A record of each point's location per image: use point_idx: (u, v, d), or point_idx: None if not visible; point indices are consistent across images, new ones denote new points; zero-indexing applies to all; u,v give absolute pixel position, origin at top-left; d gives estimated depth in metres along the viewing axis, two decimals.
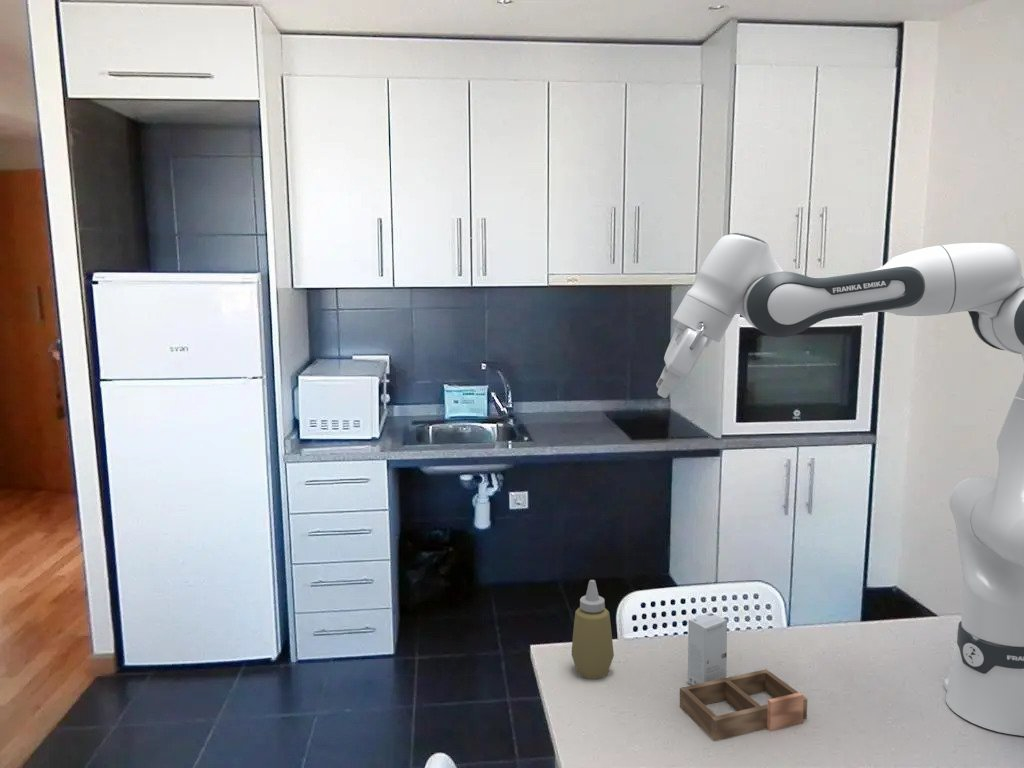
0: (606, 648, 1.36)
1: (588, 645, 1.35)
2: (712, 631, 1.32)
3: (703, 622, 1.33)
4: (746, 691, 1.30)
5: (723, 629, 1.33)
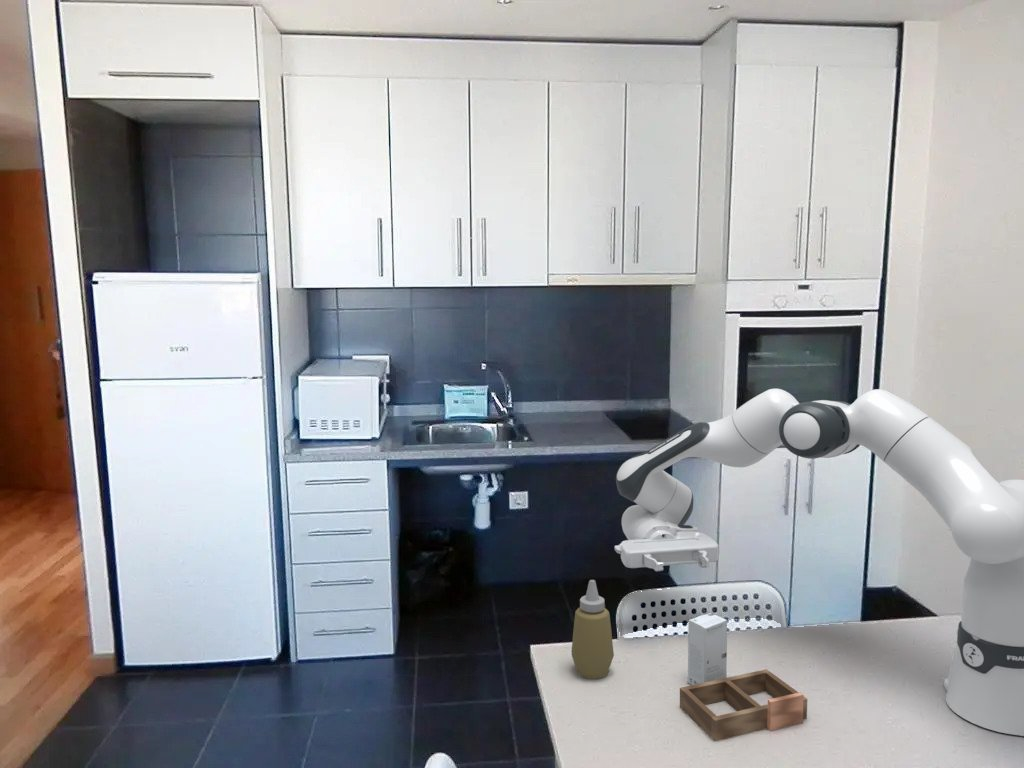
0: (606, 648, 1.36)
1: (588, 645, 1.35)
2: (713, 631, 1.32)
3: (703, 622, 1.33)
4: (746, 691, 1.30)
5: (723, 629, 1.33)
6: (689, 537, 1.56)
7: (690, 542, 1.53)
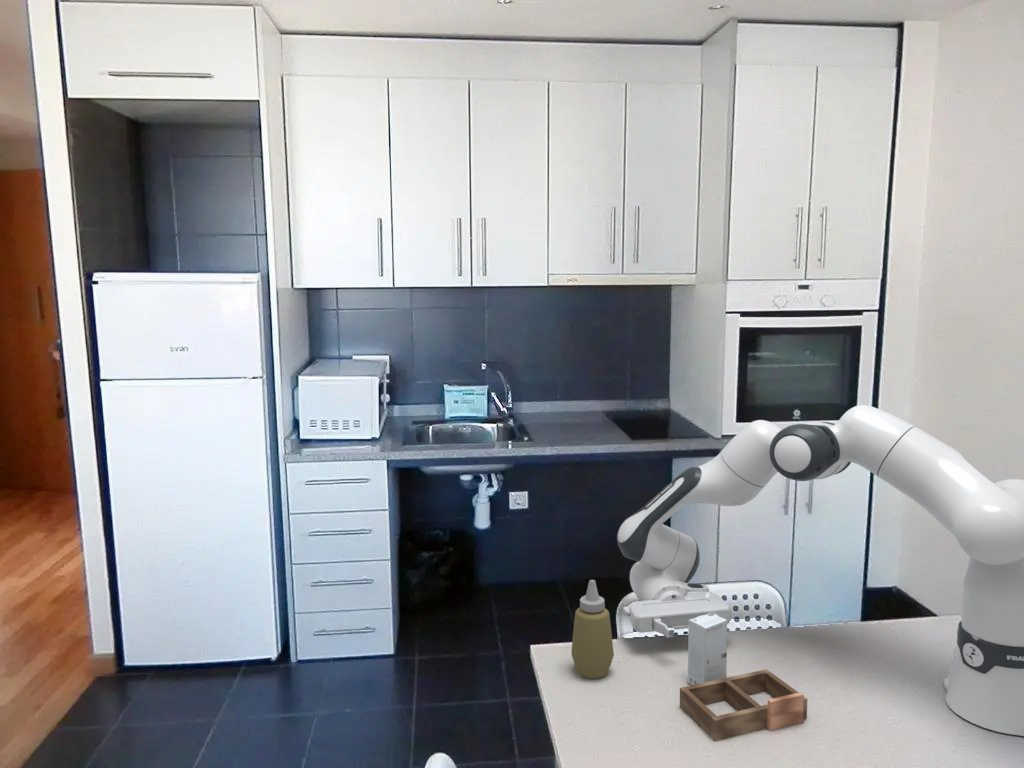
0: (606, 648, 1.36)
1: (588, 645, 1.35)
2: (713, 631, 1.32)
3: (703, 622, 1.33)
4: (746, 691, 1.30)
5: (723, 629, 1.33)
6: (699, 597, 1.52)
7: (701, 603, 1.49)
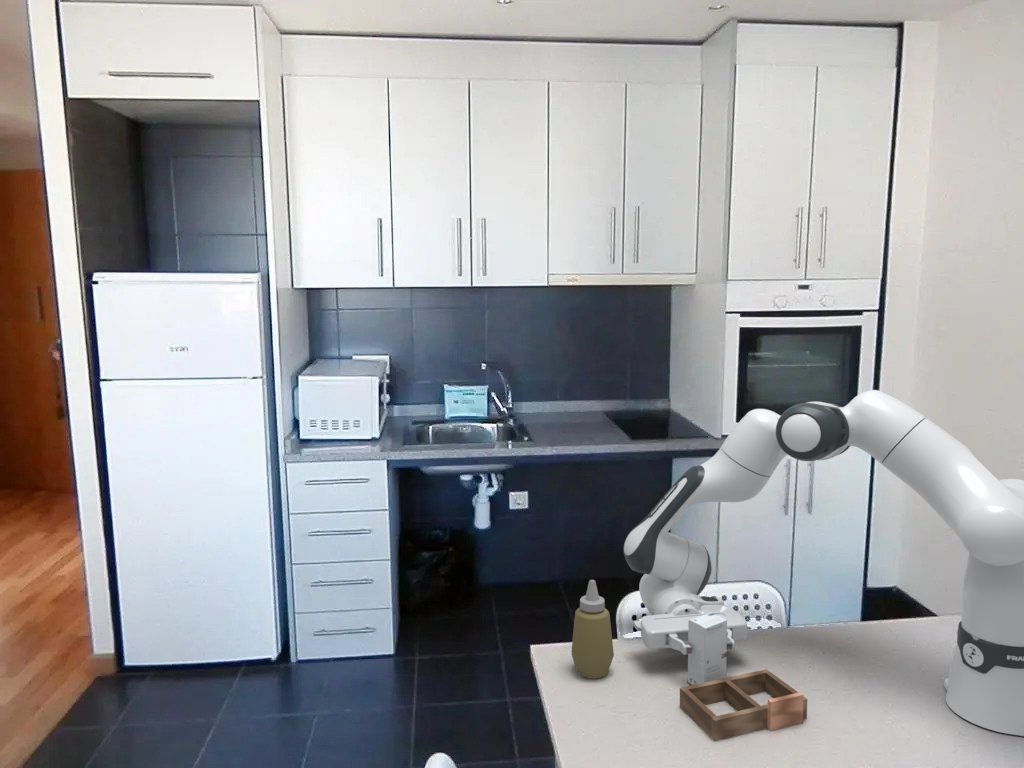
0: (606, 648, 1.36)
1: (588, 645, 1.35)
2: (713, 631, 1.32)
3: (703, 622, 1.33)
4: (746, 691, 1.30)
5: (723, 629, 1.33)
6: (714, 611, 1.44)
7: None
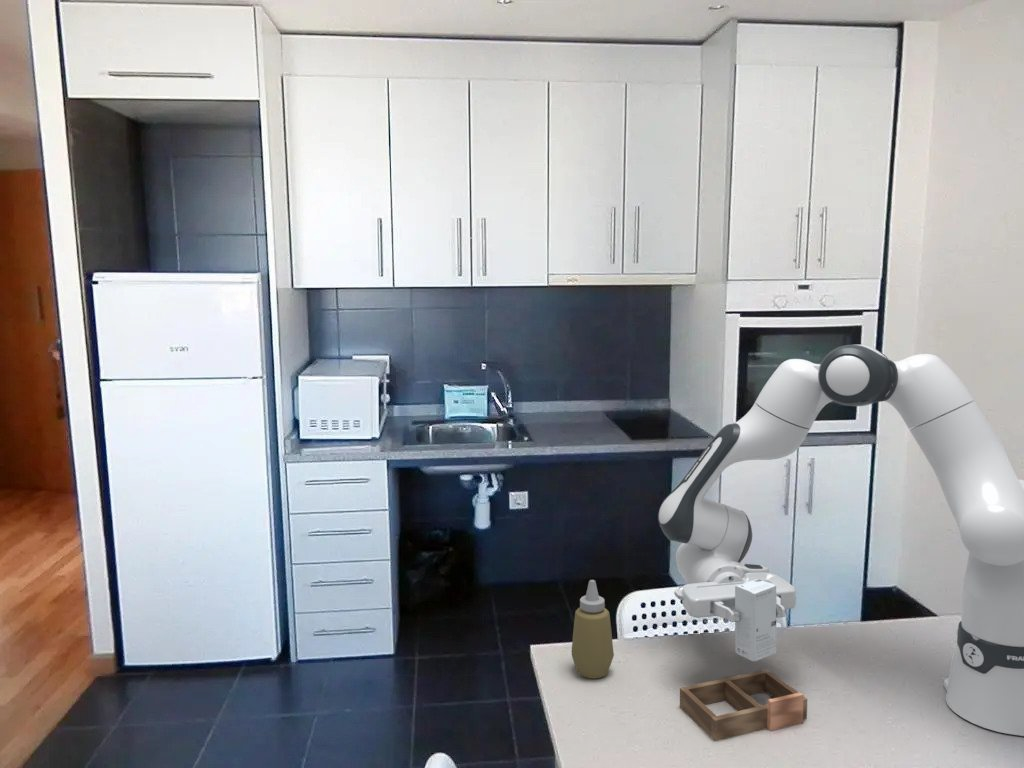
0: (606, 648, 1.36)
1: (588, 645, 1.35)
2: (762, 597, 1.24)
3: (751, 587, 1.25)
4: (746, 691, 1.30)
5: (772, 595, 1.25)
6: (759, 579, 1.36)
7: None
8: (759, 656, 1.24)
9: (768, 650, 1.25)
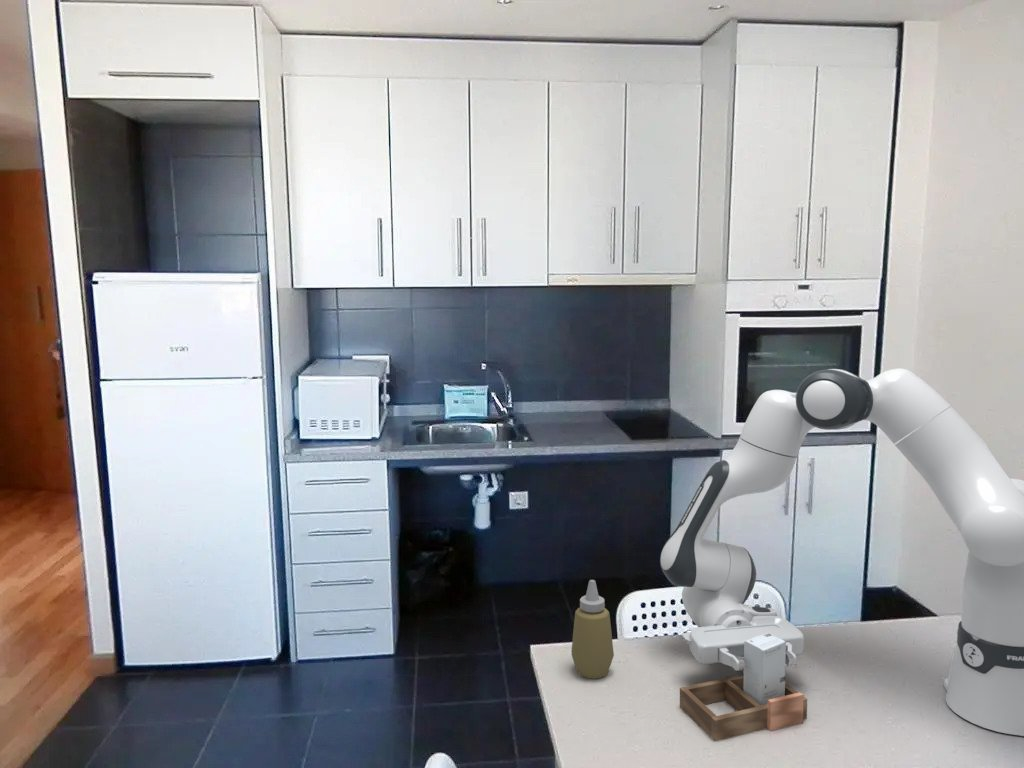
0: (606, 648, 1.36)
1: (588, 645, 1.35)
2: (771, 654, 1.23)
3: (760, 643, 1.24)
4: None
5: (782, 651, 1.25)
6: (767, 623, 1.35)
7: (770, 630, 1.33)
8: None
9: None
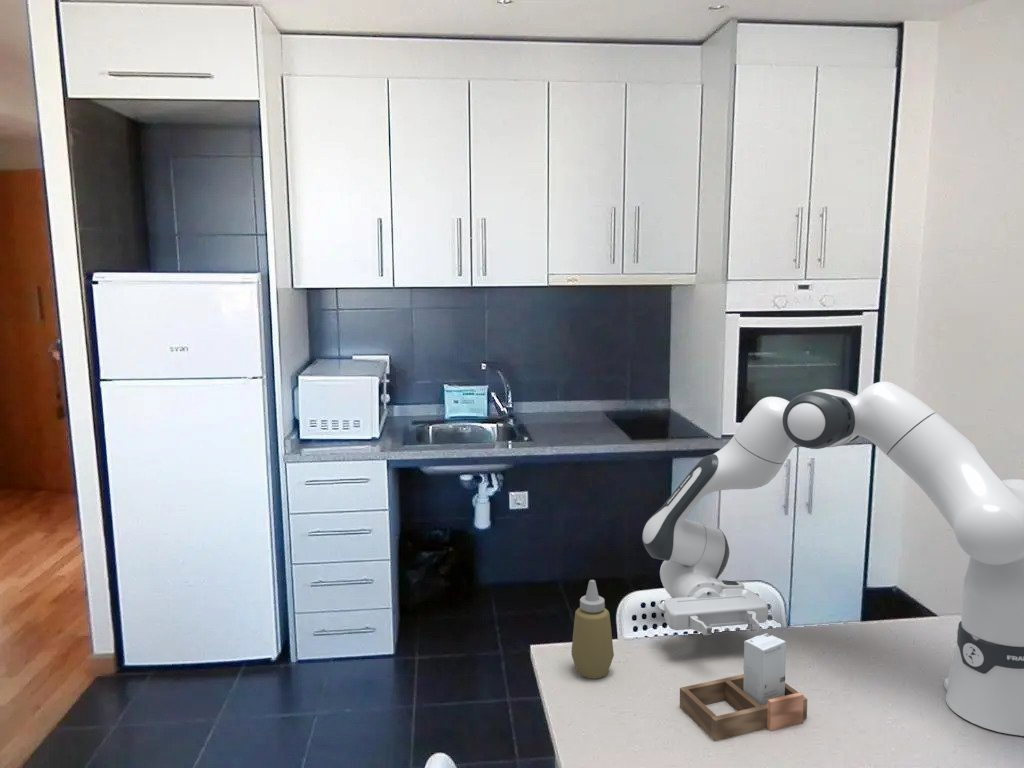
0: (606, 648, 1.36)
1: (588, 645, 1.35)
2: (771, 653, 1.23)
3: (760, 643, 1.24)
4: None
5: (782, 651, 1.25)
6: (735, 594, 1.48)
7: (737, 601, 1.46)
8: None
9: None
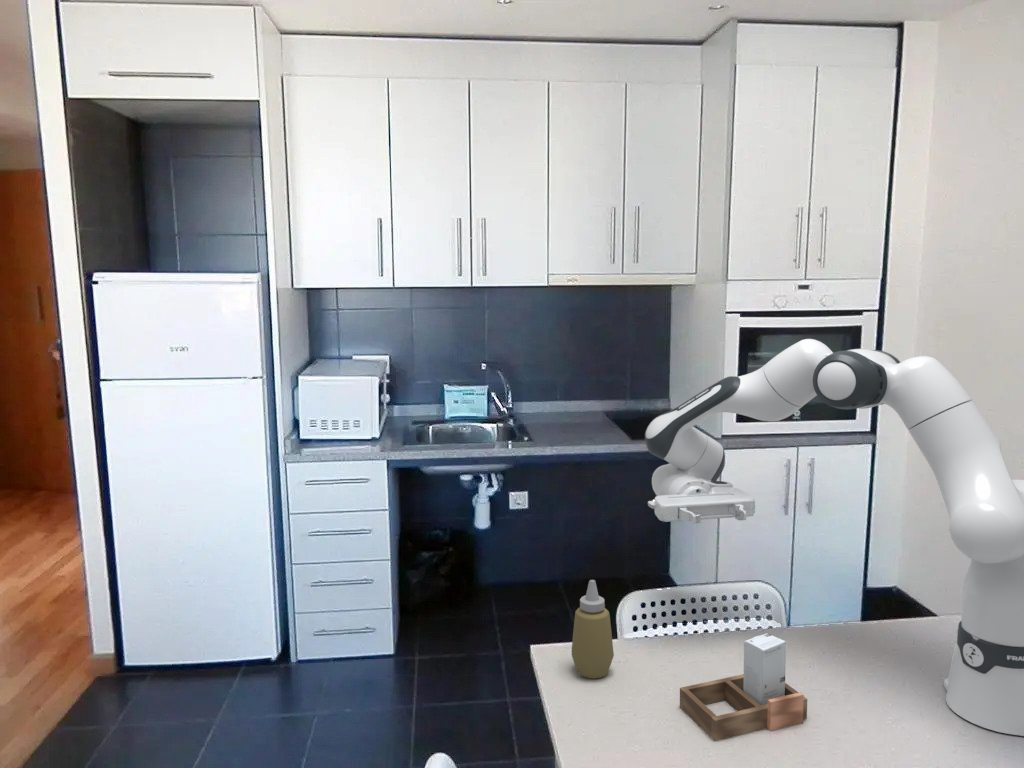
0: (606, 648, 1.36)
1: (588, 645, 1.35)
2: (771, 654, 1.23)
3: (760, 643, 1.24)
4: None
5: (782, 651, 1.25)
6: (724, 492, 1.53)
7: (725, 496, 1.50)
8: None
9: None
